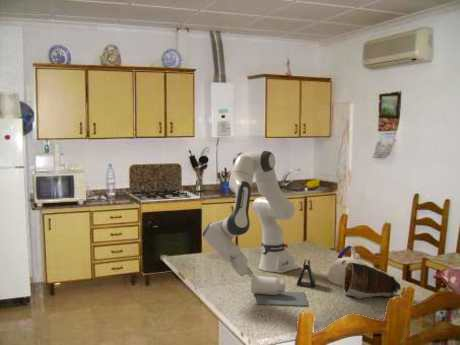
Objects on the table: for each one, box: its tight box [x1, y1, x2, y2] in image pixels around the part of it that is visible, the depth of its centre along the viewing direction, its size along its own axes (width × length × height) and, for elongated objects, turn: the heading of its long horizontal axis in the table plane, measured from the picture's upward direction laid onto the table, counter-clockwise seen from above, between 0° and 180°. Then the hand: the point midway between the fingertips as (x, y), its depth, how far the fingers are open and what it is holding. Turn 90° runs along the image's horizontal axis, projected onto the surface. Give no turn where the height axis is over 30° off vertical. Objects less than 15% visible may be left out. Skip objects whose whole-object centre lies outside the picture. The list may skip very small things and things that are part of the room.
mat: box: [256, 291, 309, 307], centre depth 208 cm, size 22×16×1 cm
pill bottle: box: [250, 275, 286, 295], centre depth 211 cm, size 8×8×15 cm
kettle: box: [327, 245, 364, 287], centre depth 236 cm, size 20×21×18 cm
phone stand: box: [296, 259, 317, 288], centre depth 228 cm, size 9×6×12 cm, turn 76°
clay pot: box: [342, 263, 402, 300], centre depth 214 cm, size 15×15×25 cm
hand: (252, 275), depth 207 cm, fingers closed
